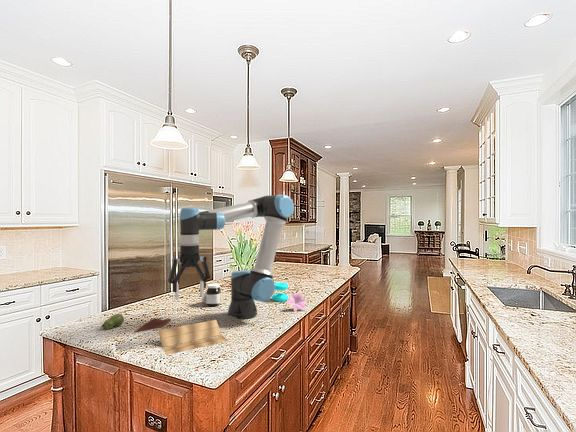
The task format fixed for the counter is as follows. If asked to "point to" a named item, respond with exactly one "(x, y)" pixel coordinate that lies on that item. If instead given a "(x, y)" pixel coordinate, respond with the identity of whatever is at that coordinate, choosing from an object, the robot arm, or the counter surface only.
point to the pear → (113, 321)
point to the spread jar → (212, 295)
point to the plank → (189, 333)
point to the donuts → (280, 296)
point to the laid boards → (194, 344)
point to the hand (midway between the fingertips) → (189, 297)
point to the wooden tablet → (153, 324)
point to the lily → (297, 301)
